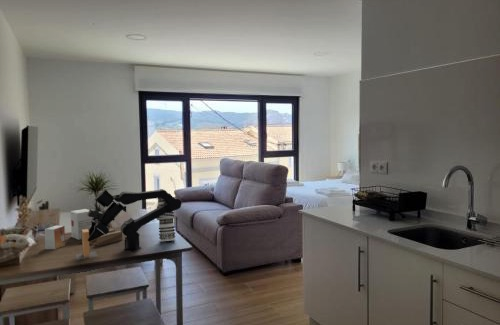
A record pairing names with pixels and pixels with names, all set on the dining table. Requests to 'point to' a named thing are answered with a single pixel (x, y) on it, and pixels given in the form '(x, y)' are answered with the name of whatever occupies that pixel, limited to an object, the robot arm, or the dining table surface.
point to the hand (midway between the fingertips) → (87, 238)
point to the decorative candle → (166, 224)
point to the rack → (107, 238)
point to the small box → (55, 237)
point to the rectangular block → (85, 243)
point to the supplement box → (79, 222)
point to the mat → (80, 256)
